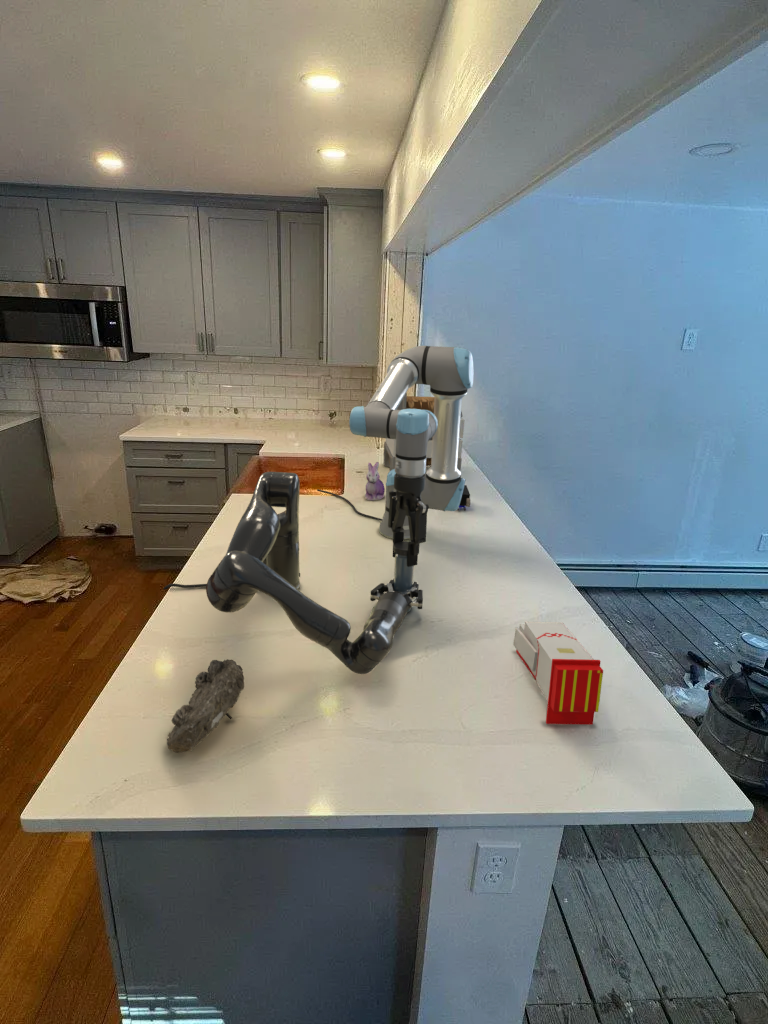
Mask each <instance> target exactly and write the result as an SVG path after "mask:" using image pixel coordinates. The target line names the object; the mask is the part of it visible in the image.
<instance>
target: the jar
mask: <svg viewBox="0 0 768 1024" xmlns="http://www.w3.org/2000/svg"><path fill="white" fill-rule="evenodd" d="M393 570H394V571H393V579H394V586H393V590H394V591H398V592H403V591H405V590H407V589H411V587H412V585H413V583H414V572H415V571H414V570H415V566H411V567H408V566H407V556H401V555H398V554H396V553H395V557H394V569H393ZM411 610H412V607H411V608H409V609H408V611H407V613H409V612H411Z"/></svg>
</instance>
